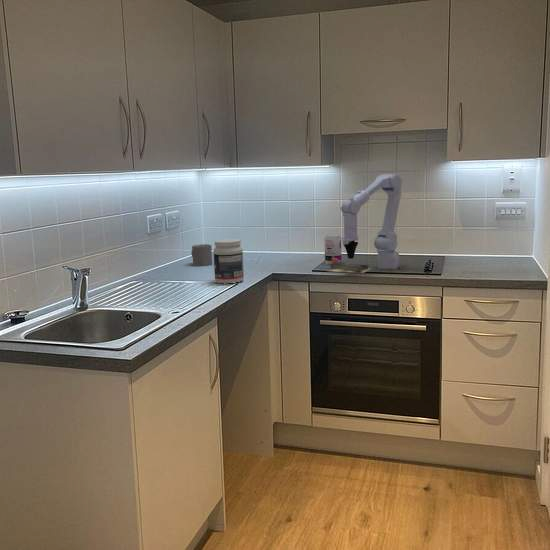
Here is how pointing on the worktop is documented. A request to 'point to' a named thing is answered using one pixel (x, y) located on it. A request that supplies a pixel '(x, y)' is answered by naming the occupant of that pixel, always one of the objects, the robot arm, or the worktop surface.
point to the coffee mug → (202, 255)
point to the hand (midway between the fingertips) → (350, 258)
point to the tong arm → (350, 267)
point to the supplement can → (332, 248)
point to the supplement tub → (228, 261)
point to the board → (348, 270)
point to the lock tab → (334, 260)
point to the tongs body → (339, 266)
